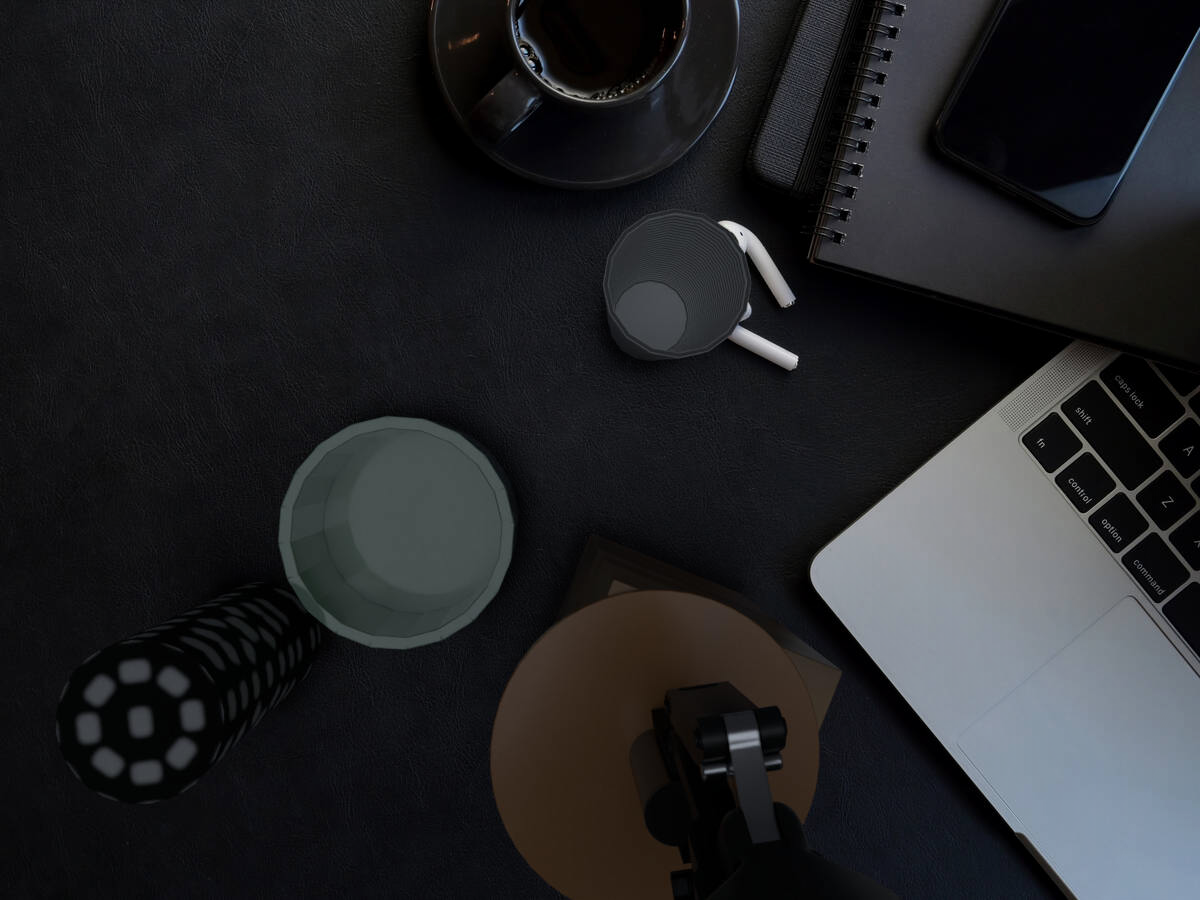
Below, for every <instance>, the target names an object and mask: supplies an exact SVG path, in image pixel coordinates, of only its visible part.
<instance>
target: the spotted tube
mask: <svg viewBox="0 0 1200 900" xmlns="http://www.w3.org/2000/svg"><path fill="white" fill-rule="evenodd" d="M321 643H322V642H321V630H320V624H319V620H318V619H317V618H315V617H314V616H313V615H312V614H310V613H309V612H308V611H307V610H306V609H305V607H304V605H303V604H302V602H301V601H300V599H299V598H298V596H297V594H296V593H295V591H294V590H293V589H291V588H290V587H287V586H284V585H282V584H279V583H275V582H270V581H269V582H268V581H259V582H258V581H256V582H255V581H254V582H251V583H246V584H242V585H240V586H238V587H236V588H233V589H231V590H229V591H227V592H224V593H222V594H220V595H218V596H216V597H214V598H211V599H208V600H207V601H205V602H203V603H200V604H198V605H196V606H194V607H191V608H189V609H187V610H185V611H183V612H180V613H179V614H176V615H173V616H172V617H170V618H167V619H165V620H163V621H160V622H158V623H156V624H154V625H152V626H150V627H148V628H144V629H142V630H140V631H138V632H137V633H133V634H132V635H130V636H128V637H126V638H123V639H121V640H119V641H117V642H115V643H112V644H110V645H108V646H106V647H103V648H101V649H99V650H98V651H96V652H95V653H94V654H92V655H90V656H89V657H87V658H86V659H84V661H83V662H82V663H81V664H80V665H79V666H77V668H76V669H75V670H74V671H73V672H72V674H71V675H70V677H69V678H68V680H67V682H66V683H65V684H64V686H63V689H62V692H61V693H60V696H59V698H58V703H57V708H56V713H55V734H56V738H57V743H58V748H59V751H60V753H61V755H62V757H63V758H64V762H65V763H66V765H67V766H68V768H69V769H70V770H71V773H73V775H74V776H75V777H76V779H78V780H79V781H80V782H81V783H82V784H83V785H84V786H86V787H87V789H90V790H91V791H92V792H94V793H96V794H98V795H100V797H103V798H106V799H108V800H112V801H114V802H117V803H123V804H129V805H148V804H149V805H150V804H155V803H159V802H164V801H167V800H170V799H171V798H174V797H176V796H179V795H181V794H183V793H184V792H186V791H187V790H188V789H190V788H192V787H193V786H194V785H196V784H197V783H198V782H199V781H200V780H201V779H202V778H203V777H204V776H205V775H206V774H207V773H209V771H210V770H212V769H213V767H215V765H217V764H218V763H219V761H221V760H222V759H223V758H224V757H225V756H226V755H227V754H228V753H229V752H230V751H231V750H232V749H233V748H234V747H236V746H237V744H238V743H240V742H241V741H242V740H243V739H244V738H245V737H246V736H247V735H248V734H250V732H251V731H252V730H253V729H254V728H256V727H257V726H258V724H260V723H261V722H262V720H264V718H266V717H267V716H268V715H269V714H270V713H271V712H272V711H273V710H274V709H276V707H277V706H278V705H279V704H280V703H281V702H282V701H283V700H285V699H286V697H288V696H289V695H290V694H291V693H292V692H293V691H294V690H295V689H296V688H298V686H299V685H300V684H301V683H302V682H303V681H305V679H306V678H307V677H308V676H309V674H310V673H311V672H312V670H313V669H314V667H315V665H316V662H317V660H318V657H319V654H320V650H321Z"/></svg>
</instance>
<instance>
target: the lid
mask: <svg viewBox="0 0 1200 900" xmlns="http://www.w3.org/2000/svg"><path fill="white" fill-rule="evenodd" d="M553 624H554V623H553ZM724 681H729V682H730V683H731V684H732V685H733V686H734V687H736V688H737V689H738V690H739V691H740V692H741V693H742V694H744V695H745V696H746V697H747V698H748V699H749V700H750V701H752V702H753V703H754V704H755V705H756V706H757V707H758V708H763V707H769V706H778V708H779V709H780V712H781V715H782V717H784V718H785V720H786V724H787V730H788V733H787V737H786V746H785V748H784V749H783V750H781V751H780V752H781V755H782V760H783V768H782V769H781V770H776V771H770V772H767V777H768V781H769V786H770V791H771V796H772V800H773V802H781V803H784V804H786V805H788V806H789V807H791V808H792V809H793V810H794V811H795V813H796V814H797V815H798V817H799V819H800V821H801V823H802V826H803V827H804V825H805V821H806V819H807V817H808V815H809V812H810V810H811V807H812V804H813V800H814V797H815V792H816V789H817V785H818V777H819V771H820V745H821V744H820V743H821V742H820V736H819V733H818V726H817V720H816V716H815V712H814V708H813V704H812V701H811V698H810V696H809V693H808V691H807V688H806V686H805V683H804V681H803V679H802V677H801V676H800V674H799V672H798V670H797V669H796V667H795V665H794V663H793V662H792V661H791V659H790V658H789V657H788V655H787V654H786V653H785V651H784V650H783V649H782V647H781V646H780V645H779V644H778V643H777V642H776V641H775V640H774V639H773V638H772V637H771V636H770V635H769V634H768V633H767V632H766V631H765V630H764V629H763V628H762V627H760V626H759V625H758V624H757V623H755V622H754V621H753V620H751V619H750V618H749V617H748V616H746V615H744V614H743V613H741V612H739V611H738V610H736V609H734V608H732V607H731V606H729V605H727V604H724V603H722V602H720V601H717V600H715V599H713V598H710V597H707V596H703V595H700V594H696V593H692V592H689V591H681V590H674V589H640V590H632V591H625V592H621V593H617V594H613V595H610V596H606V597H603V598H600V599H598V600H596V601H593V602H591V603H588V604H586V605H584V606H582V607H580V608H578V609H577V610H575V611H573V612H571V613H570V614H568V615H566V616H565V617H563V618H562V619H561V620H559V621H558V622H557V623H556V624H554V625H552V626H550V627H549V628H548V629H546V631H545V632H543V633H542V634H541V635H540V636H539V637H538V639H536V640H535V642H533V643H532V645H531V646H530V647H529V648H528V650H527V651H526V652H525V654H524V655H523V656H522V658H520V660H519V661H518V663H517V665H516V666H515V668H514V670H513V671H512V673H511V675H510V676H509V678H508V680H507V682H506V684H505V687H504V690H503V692H502V694H501V697H500V699H499V703H498V705H497V709H496V714H495V715H494V720H493V724H492V730H491V731H492V732H491V738H490V745H489V747H490V748H489V770H490V777H491V778H490V779H491V787H492V791H493V795H494V799H495V803H496V807H497V811H498V813H499V816H500V819H501V821H502V824H503V826H504V828H505V830H506V832H507V834H508V836H509V838H510V839H511V841H512V843H513V844H514V846H515V848H516V850H517V851H518V852H519V854H520V855H521V856H522V858H523V859H524V860H525V862H526V863H527V864H528V865H529V867H530V868H531V869H532V870H533V871H534V872H535V873H536V874H538V876H540V878H541V879H542V880H543V881H544V882H545V883H546V884H548V885H549V886H551V887H552V888H553V889H555V890H556V891H557V892H558V893H560V894H561V895H562V896H564V897H566V898H568V899H570V900H674V898H673V892H672V886H671V879H670V872H671V871H678V870H684V869H690V868H692V866H691V863H687V864H683V861H682V858H681V855H680V852H679V849H678V846H684V845H687V844H689V842H688V834H687V826H688V824H689V823H690V822H692V821H693V817H692V814H691V811H690V808H689V805H688V802H687V799H686V795H685V792H684V789H683V786H682V783H681V780H680V777H679V774H673V775H671V772H670V769H669V767H668V764H667V761H666V759H665V756H664V753H663V751H662V748H661V745H660V743H659V740H658V737H657V734H656V732H655V729H654V726H653V720H652V712H651V710H655V709H662V708H664V702H663V701H664V700H665V697H664V695H666V690H671V689H677V688H683V687H690V686H696V685H703V684H710V683H718V682H724Z"/></svg>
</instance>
